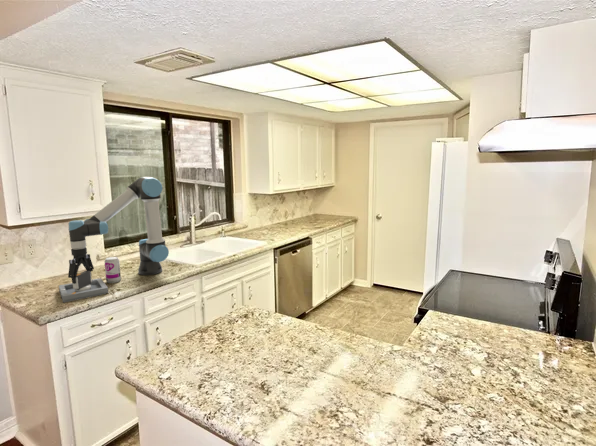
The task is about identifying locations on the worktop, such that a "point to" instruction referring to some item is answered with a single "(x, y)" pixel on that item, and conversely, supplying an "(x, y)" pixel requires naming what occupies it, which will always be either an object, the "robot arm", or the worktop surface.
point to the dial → (83, 281)
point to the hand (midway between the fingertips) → (82, 285)
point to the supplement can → (112, 269)
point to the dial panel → (70, 295)
